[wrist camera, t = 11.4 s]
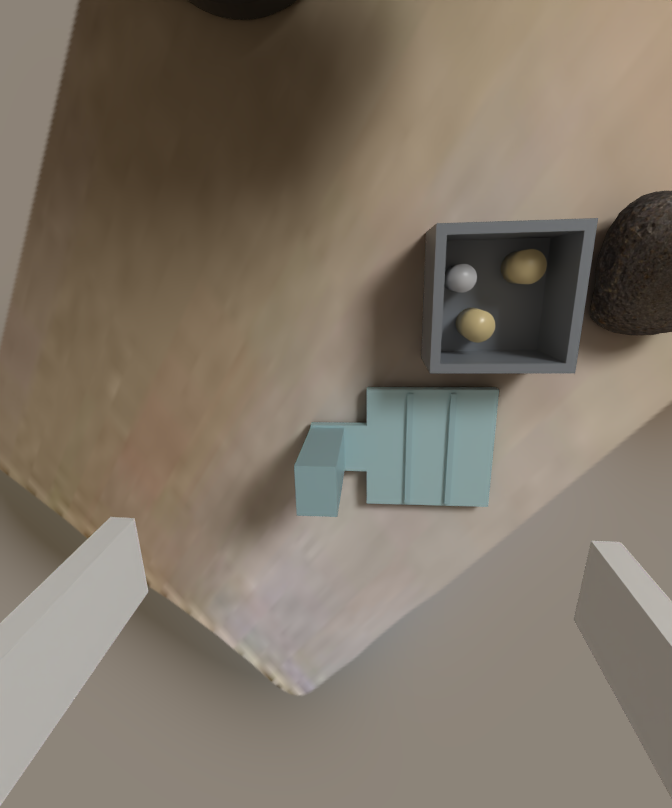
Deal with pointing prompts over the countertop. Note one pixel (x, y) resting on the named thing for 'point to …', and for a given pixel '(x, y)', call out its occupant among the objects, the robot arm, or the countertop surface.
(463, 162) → the countertop surface
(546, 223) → the tub
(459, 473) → the pale blue ridged block
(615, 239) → the stone
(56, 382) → the countertop surface
